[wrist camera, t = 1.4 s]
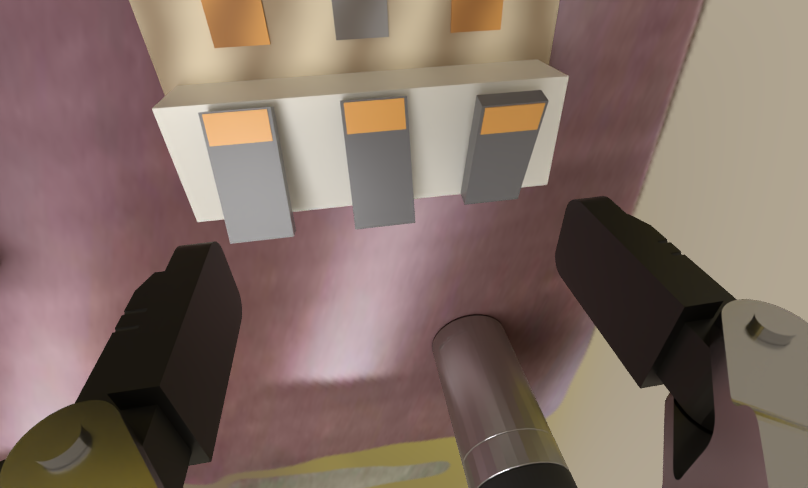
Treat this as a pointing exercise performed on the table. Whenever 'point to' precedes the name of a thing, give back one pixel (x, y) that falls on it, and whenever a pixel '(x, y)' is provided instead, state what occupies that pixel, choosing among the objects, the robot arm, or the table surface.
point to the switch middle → (379, 160)
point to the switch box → (324, 137)
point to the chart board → (335, 36)
